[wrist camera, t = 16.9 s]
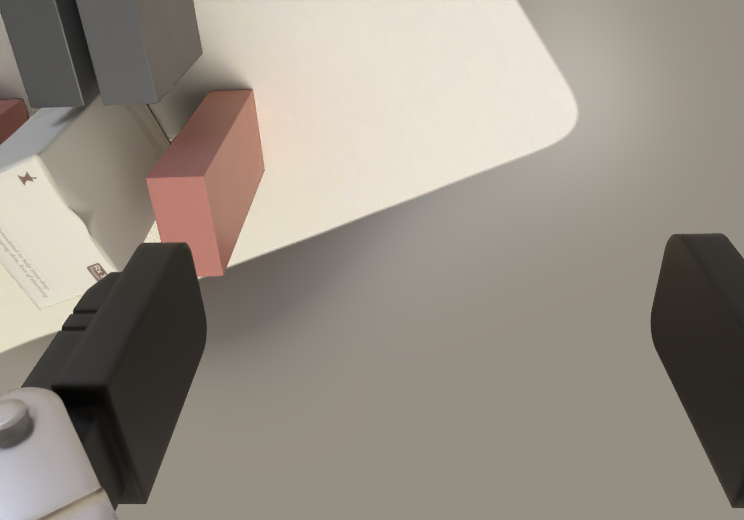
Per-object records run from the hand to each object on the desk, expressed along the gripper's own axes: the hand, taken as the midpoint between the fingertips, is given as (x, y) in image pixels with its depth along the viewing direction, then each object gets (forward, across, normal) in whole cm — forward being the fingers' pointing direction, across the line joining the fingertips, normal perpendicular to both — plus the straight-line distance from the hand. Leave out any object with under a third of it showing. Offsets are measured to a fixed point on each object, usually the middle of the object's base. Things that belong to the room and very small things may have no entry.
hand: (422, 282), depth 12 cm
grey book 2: (+35, +15, +2) cm, 38 cm away
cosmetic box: (+35, +20, +11) cm, 42 cm away
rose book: (+35, +12, +11) cm, 39 cm away
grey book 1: (+35, +19, +2) cm, 40 cm away
